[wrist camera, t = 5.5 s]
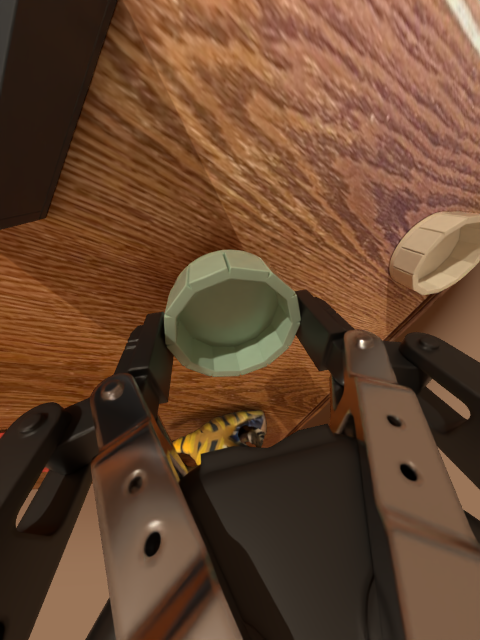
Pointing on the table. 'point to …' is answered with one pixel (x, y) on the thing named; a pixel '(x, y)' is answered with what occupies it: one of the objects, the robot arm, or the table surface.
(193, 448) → the dog figurine
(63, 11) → the tub
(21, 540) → the robot arm
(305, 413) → the table surface
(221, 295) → the celadon dish
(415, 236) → the cream dish
